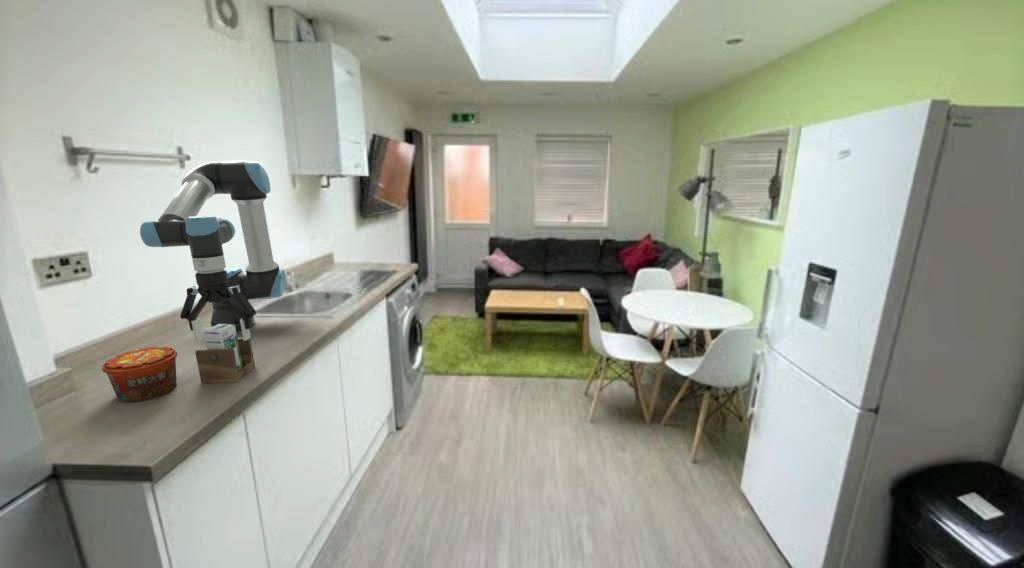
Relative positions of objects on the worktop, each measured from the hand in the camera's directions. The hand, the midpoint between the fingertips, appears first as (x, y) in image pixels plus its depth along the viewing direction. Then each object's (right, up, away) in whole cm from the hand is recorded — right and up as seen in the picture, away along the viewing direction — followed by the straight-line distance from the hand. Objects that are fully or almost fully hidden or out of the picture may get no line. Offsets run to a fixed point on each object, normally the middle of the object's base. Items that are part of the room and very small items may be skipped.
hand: (223, 339), depth 129 cm
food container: (-16, -14, -7) cm, 23 cm away
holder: (0, -11, +2) cm, 11 cm away
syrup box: (0, -10, +2) cm, 10 cm away
